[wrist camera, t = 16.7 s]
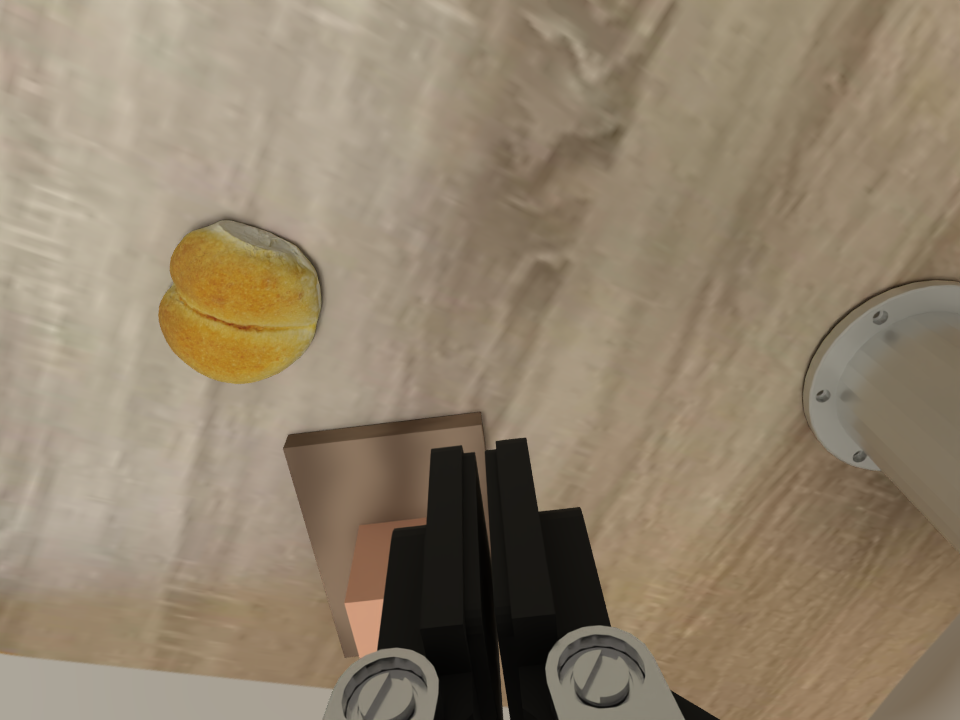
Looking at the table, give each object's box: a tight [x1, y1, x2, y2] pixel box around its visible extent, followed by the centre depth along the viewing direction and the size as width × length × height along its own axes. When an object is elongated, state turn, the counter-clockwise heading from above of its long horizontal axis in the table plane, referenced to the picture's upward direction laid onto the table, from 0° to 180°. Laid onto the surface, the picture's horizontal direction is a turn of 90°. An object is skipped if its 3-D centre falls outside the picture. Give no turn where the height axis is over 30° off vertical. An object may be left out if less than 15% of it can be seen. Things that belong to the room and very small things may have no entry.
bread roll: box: [158, 220, 321, 384], centre depth 38 cm, size 8×9×4 cm
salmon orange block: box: [344, 518, 427, 659], centre depth 43 cm, size 5×5×7 cm
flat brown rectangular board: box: [283, 412, 491, 658], centre depth 44 cm, size 12×18×7 cm, turn 7°
